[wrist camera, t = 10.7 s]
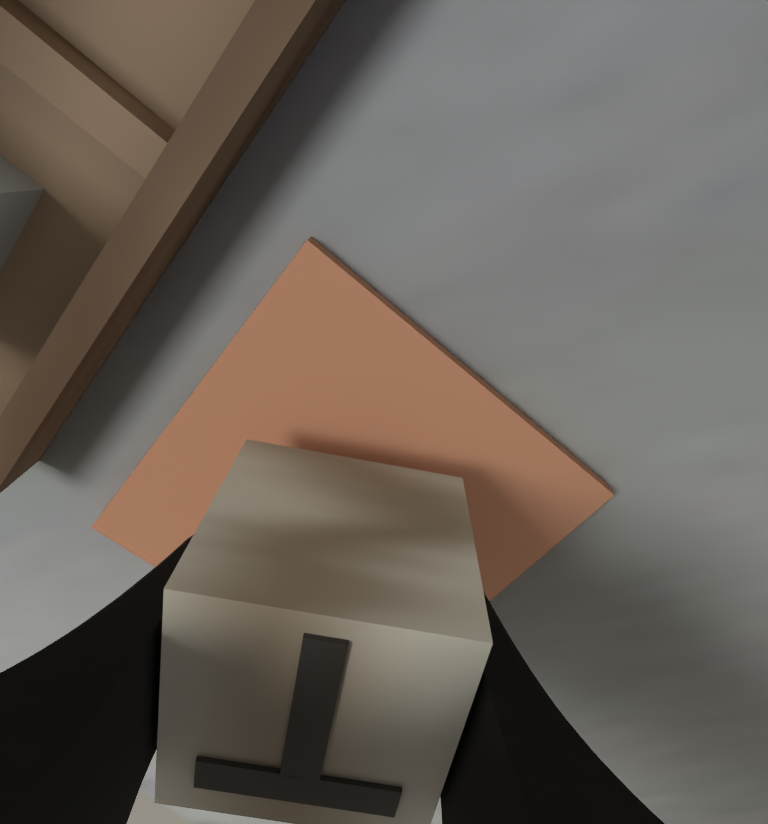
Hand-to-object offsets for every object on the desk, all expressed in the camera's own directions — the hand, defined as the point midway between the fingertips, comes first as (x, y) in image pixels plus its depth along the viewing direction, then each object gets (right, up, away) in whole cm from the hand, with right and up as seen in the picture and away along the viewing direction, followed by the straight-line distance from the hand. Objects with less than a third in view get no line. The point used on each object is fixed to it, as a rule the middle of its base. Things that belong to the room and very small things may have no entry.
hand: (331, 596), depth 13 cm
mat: (0, +2, +4) cm, 4 cm away
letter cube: (0, +1, +2) cm, 2 cm away
